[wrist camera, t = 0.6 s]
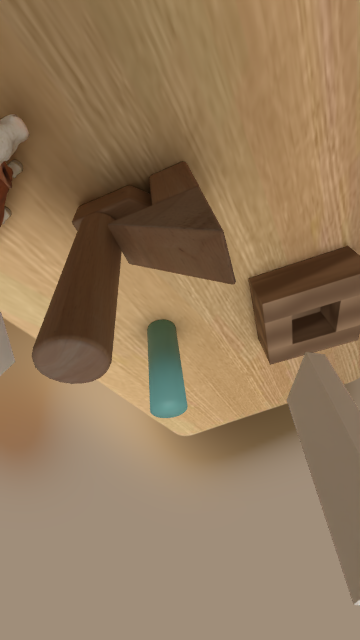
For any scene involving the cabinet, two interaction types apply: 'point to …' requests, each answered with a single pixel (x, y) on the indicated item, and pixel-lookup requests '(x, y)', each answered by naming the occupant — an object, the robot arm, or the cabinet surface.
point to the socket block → (308, 305)
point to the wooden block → (139, 249)
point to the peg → (165, 371)
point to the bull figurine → (3, 142)
